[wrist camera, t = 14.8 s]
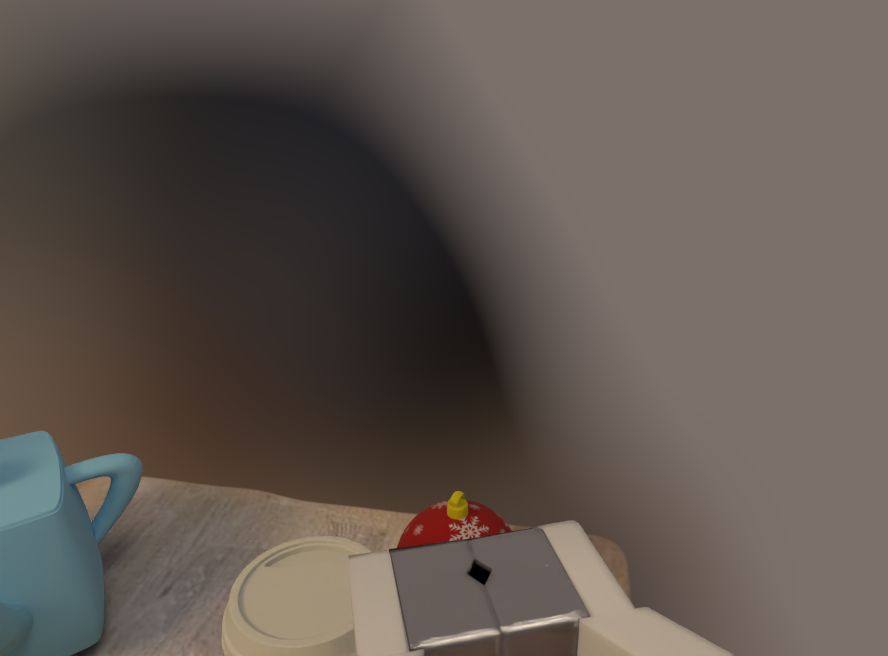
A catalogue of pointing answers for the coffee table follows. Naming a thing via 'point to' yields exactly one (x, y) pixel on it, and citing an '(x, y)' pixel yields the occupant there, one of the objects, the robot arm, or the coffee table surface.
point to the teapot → (54, 545)
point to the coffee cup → (293, 601)
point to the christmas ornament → (452, 522)
